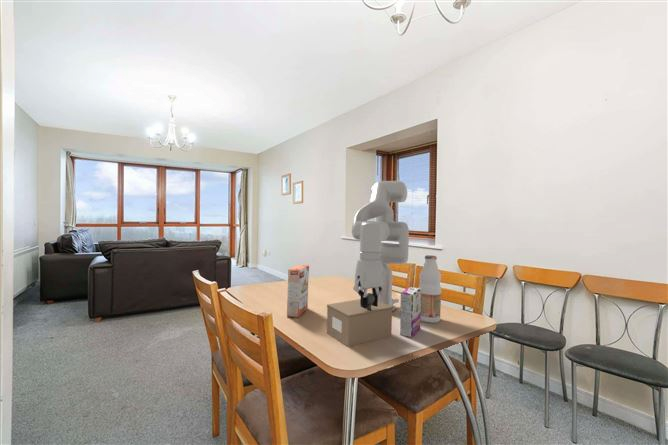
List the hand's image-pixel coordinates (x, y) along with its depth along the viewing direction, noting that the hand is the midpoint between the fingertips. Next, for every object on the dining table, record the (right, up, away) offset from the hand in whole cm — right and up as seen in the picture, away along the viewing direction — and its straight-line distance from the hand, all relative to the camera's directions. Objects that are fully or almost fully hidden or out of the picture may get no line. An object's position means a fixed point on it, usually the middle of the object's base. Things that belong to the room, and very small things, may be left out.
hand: (369, 306), depth 110 cm
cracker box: (-29, -11, +29) cm, 42 cm away
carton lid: (-3, -2, +4) cm, 6 cm away
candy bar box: (+17, -13, +8) cm, 23 cm away
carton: (-3, -12, +5) cm, 13 cm away
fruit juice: (+29, -12, +23) cm, 39 cm away
